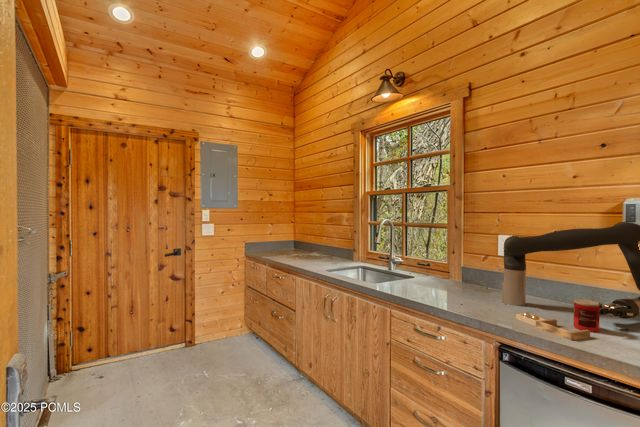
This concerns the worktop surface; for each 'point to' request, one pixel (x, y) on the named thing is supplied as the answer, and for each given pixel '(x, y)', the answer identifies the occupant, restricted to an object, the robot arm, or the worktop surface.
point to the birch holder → (561, 330)
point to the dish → (527, 319)
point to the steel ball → (527, 315)
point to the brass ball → (535, 317)
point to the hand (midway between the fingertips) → (598, 311)
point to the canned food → (586, 315)
